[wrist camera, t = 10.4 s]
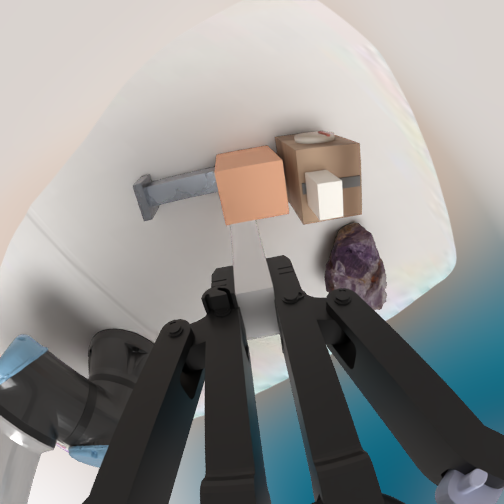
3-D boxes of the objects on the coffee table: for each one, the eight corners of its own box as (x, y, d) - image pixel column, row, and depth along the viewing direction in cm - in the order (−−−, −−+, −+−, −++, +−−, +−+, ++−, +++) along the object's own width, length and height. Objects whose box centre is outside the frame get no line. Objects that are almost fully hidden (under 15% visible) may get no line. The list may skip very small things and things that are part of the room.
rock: (360, 211, 38) (301, 245, 40) (387, 228, 30) (315, 270, 32) (385, 273, 42) (332, 304, 44) (410, 299, 34) (349, 336, 36)
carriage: (225, 195, 34) (226, 225, 26) (216, 154, 31) (214, 172, 24) (273, 186, 34) (289, 213, 26) (267, 145, 31) (282, 159, 24)
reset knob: (307, 204, 25) (320, 220, 21) (304, 172, 23) (317, 184, 20) (328, 201, 25) (343, 216, 21) (326, 169, 23) (342, 180, 20)
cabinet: (282, 191, 34) (304, 225, 26) (273, 130, 31) (294, 142, 22) (327, 184, 34) (362, 215, 26) (322, 125, 31) (360, 135, 22)
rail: (151, 208, 34) (144, 221, 30) (142, 176, 32) (132, 185, 28) (289, 180, 34) (297, 190, 30) (284, 146, 32) (292, 151, 28)
